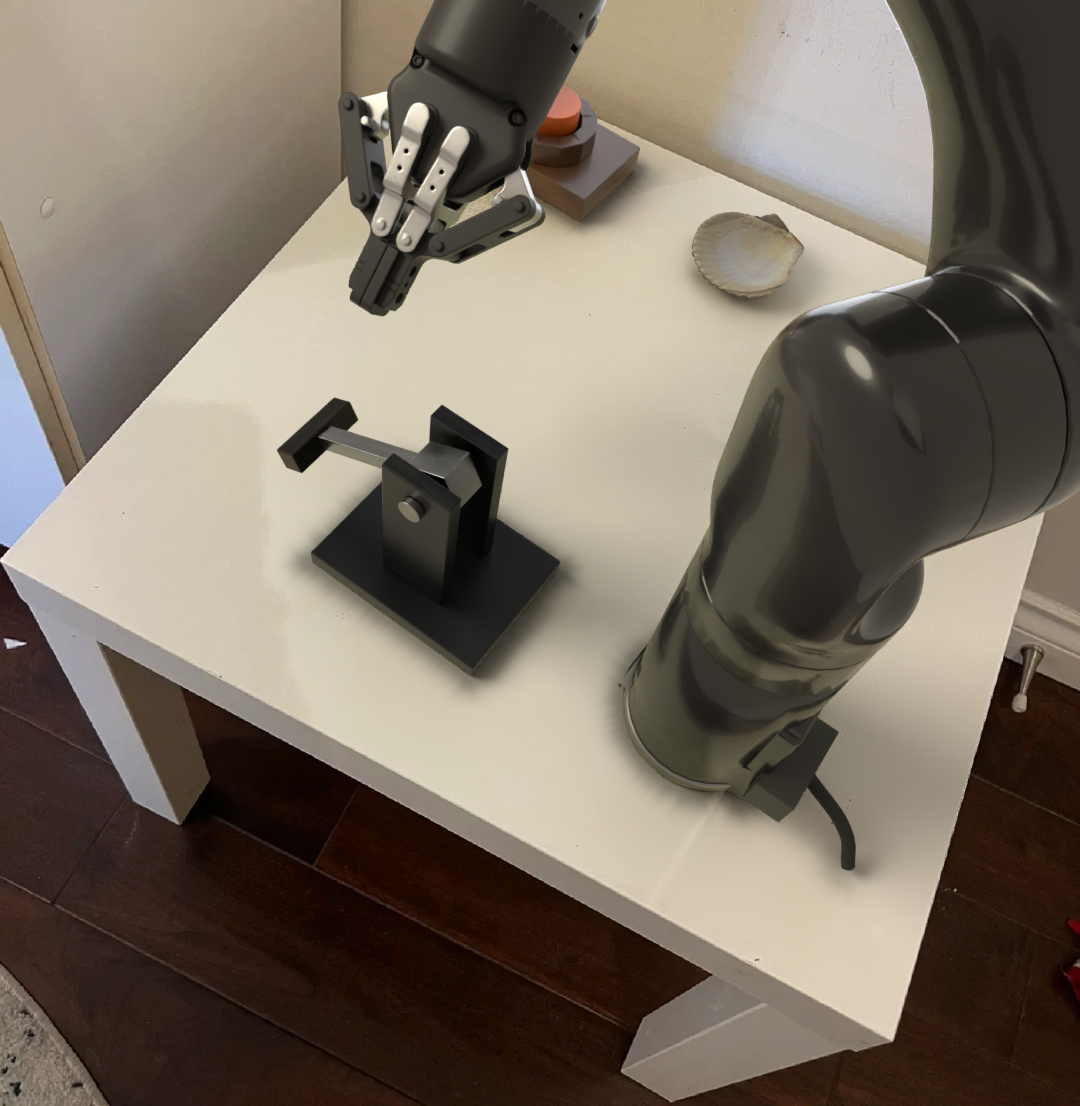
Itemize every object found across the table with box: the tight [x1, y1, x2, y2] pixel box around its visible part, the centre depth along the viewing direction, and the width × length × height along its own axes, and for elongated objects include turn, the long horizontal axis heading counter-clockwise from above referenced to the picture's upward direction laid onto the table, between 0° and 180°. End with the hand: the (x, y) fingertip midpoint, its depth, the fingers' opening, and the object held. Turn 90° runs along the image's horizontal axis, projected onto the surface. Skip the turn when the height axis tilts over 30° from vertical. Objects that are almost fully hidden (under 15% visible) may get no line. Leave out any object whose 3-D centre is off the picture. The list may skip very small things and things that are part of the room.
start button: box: [537, 85, 581, 137], centre depth 79 cm, size 4×4×2 cm
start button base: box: [526, 95, 641, 223], centre depth 81 cm, size 12×8×4 cm, turn 55°
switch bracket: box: [310, 404, 562, 677], centre depth 58 cm, size 12×9×12 cm
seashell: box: [691, 211, 805, 299], centre depth 78 cm, size 8×3×8 cm
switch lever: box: [276, 397, 482, 508], centre depth 57 cm, size 12×5×2 cm, turn 55°
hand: (367, 308), depth 57 cm, fingers closed
